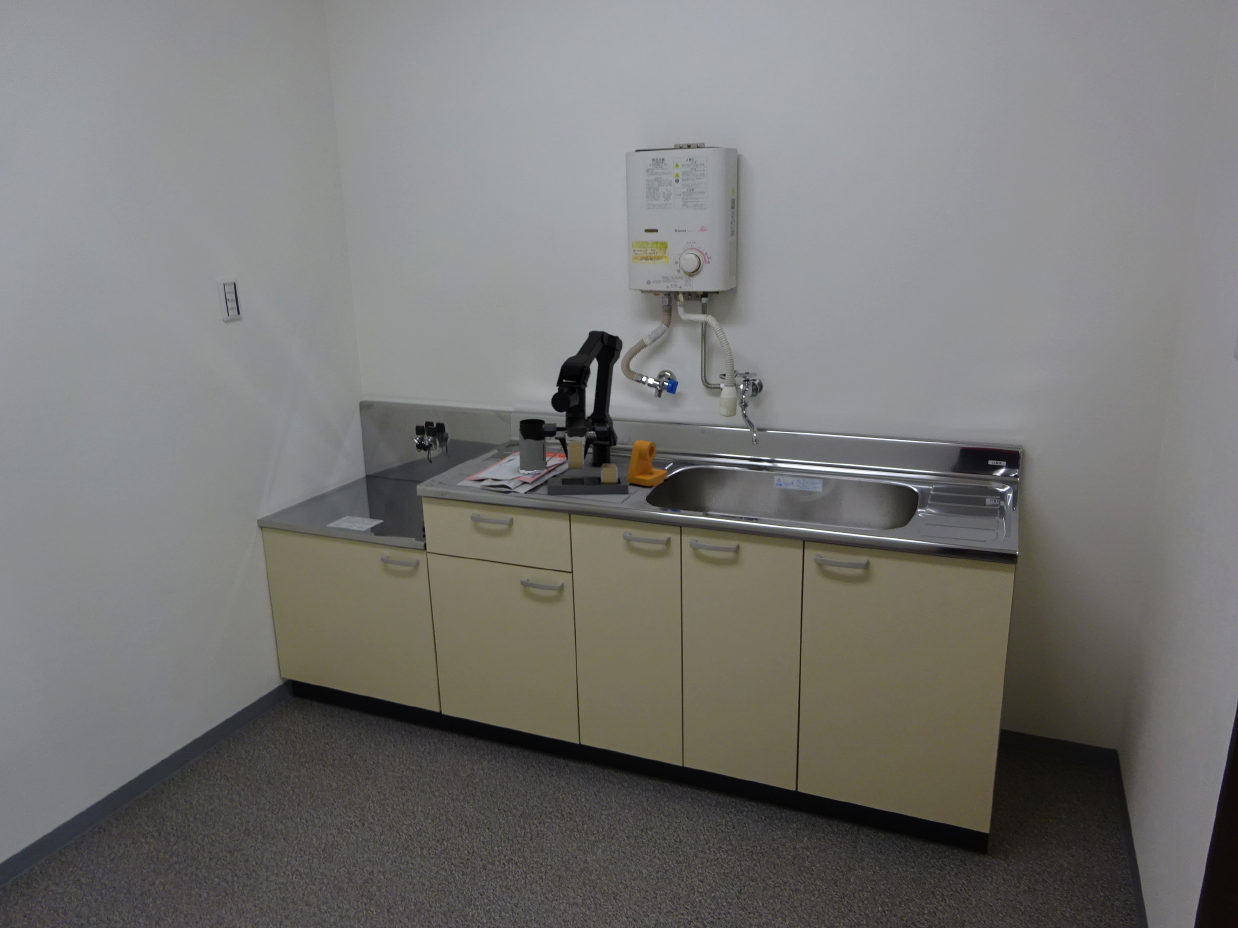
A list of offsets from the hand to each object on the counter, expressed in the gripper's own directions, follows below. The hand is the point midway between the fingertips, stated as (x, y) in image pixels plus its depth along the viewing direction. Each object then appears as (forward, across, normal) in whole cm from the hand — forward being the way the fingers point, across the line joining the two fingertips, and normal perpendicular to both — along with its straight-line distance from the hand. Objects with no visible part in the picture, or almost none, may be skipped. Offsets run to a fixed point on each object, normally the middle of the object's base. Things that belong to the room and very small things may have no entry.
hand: (575, 459), depth 249 cm
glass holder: (+7, -10, +11) cm, 16 cm away
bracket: (+7, +21, -2) cm, 22 cm away
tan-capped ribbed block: (+6, +9, -9) cm, 14 cm away
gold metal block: (+2, 0, 0) cm, 2 cm away
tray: (+6, +3, -9) cm, 11 cm away
